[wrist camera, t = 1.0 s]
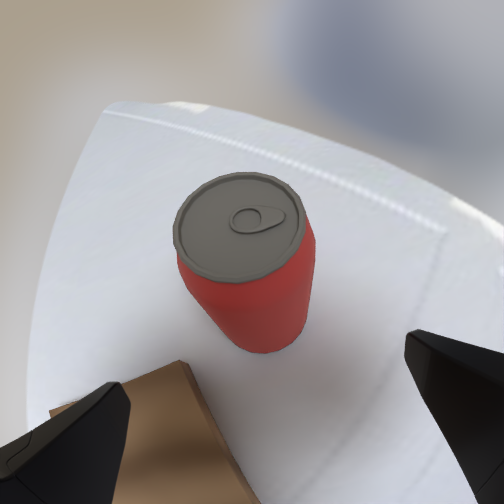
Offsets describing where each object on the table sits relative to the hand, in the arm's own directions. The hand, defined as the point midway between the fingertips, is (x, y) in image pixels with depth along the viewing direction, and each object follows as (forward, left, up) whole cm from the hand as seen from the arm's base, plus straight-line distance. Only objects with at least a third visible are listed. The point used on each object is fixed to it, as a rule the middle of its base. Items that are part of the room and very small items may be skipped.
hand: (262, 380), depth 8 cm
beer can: (+6, -2, -13) cm, 14 cm away
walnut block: (-2, +12, -13) cm, 18 cm away
